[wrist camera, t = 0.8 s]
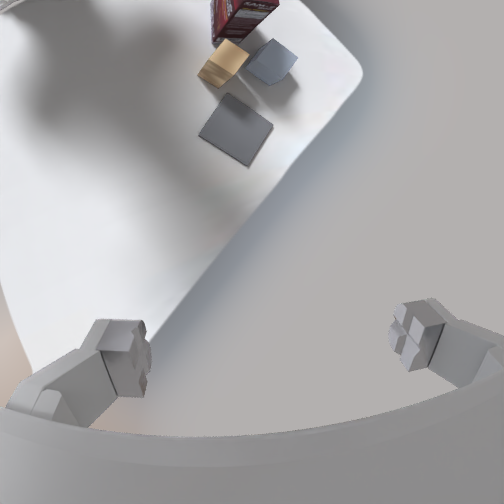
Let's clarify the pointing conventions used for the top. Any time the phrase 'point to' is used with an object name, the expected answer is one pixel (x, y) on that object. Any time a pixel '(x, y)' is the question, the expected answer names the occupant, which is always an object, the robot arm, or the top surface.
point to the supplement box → (237, 18)
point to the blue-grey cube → (271, 62)
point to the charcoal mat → (236, 129)
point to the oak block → (223, 64)
